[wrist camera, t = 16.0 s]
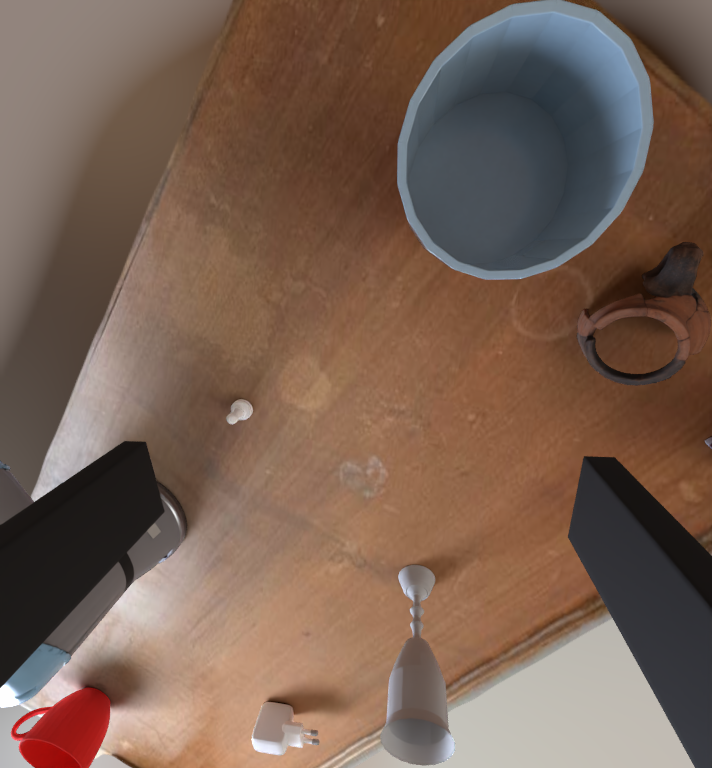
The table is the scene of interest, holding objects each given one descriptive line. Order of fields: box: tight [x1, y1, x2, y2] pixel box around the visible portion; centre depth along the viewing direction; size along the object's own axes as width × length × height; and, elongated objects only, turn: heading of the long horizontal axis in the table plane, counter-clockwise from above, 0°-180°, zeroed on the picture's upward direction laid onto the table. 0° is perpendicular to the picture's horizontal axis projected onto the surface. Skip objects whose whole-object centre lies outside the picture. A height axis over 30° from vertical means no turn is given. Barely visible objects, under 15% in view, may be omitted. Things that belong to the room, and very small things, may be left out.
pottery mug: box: [577, 242, 711, 385], centre depth 32 cm, size 12×10×8 cm
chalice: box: [381, 565, 455, 765], centre depth 42 cm, size 7×7×18 cm
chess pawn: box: [226, 399, 253, 424], centre depth 43 cm, size 3×3×4 cm
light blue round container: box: [397, 0, 654, 280], centre depth 21 cm, size 11×11×9 cm
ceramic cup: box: [11, 687, 111, 768], centre depth 71 cm, size 13×17×10 cm
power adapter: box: [252, 702, 319, 755], centre depth 63 cm, size 11×5×6 cm, turn 93°
